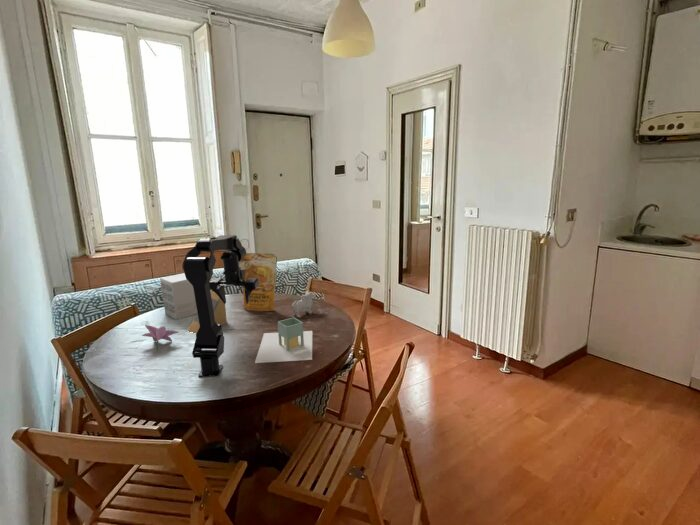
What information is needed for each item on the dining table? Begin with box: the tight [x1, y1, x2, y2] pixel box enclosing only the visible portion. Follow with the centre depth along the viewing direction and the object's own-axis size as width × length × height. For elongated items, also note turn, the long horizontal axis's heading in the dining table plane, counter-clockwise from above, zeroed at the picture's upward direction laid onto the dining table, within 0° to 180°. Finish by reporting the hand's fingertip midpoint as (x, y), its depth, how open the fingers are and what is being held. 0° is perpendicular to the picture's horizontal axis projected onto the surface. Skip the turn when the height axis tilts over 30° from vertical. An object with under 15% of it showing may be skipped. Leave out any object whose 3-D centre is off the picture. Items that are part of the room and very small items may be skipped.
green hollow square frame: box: [277, 316, 304, 351], centre depth 140 cm, size 7×7×10 cm
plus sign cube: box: [284, 337, 299, 348], centre depth 140 cm, size 4×4×4 cm
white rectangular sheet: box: [254, 330, 313, 364], centre depth 141 cm, size 25×20×1 cm
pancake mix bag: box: [239, 252, 278, 312], centre depth 178 cm, size 7×19×28 cm, turn 79°
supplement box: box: [159, 272, 197, 320], centre depth 177 cm, size 17×13×18 cm
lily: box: [141, 324, 179, 351], centre depth 142 cm, size 12×12×10 cm
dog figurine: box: [291, 290, 317, 318], centre depth 173 cm, size 5×13×11 cm, turn 133°
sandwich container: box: [187, 290, 227, 334], centre depth 159 cm, size 9×15×15 cm, turn 155°
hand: (236, 303), depth 146 cm, fingers open, 9 cm apart
